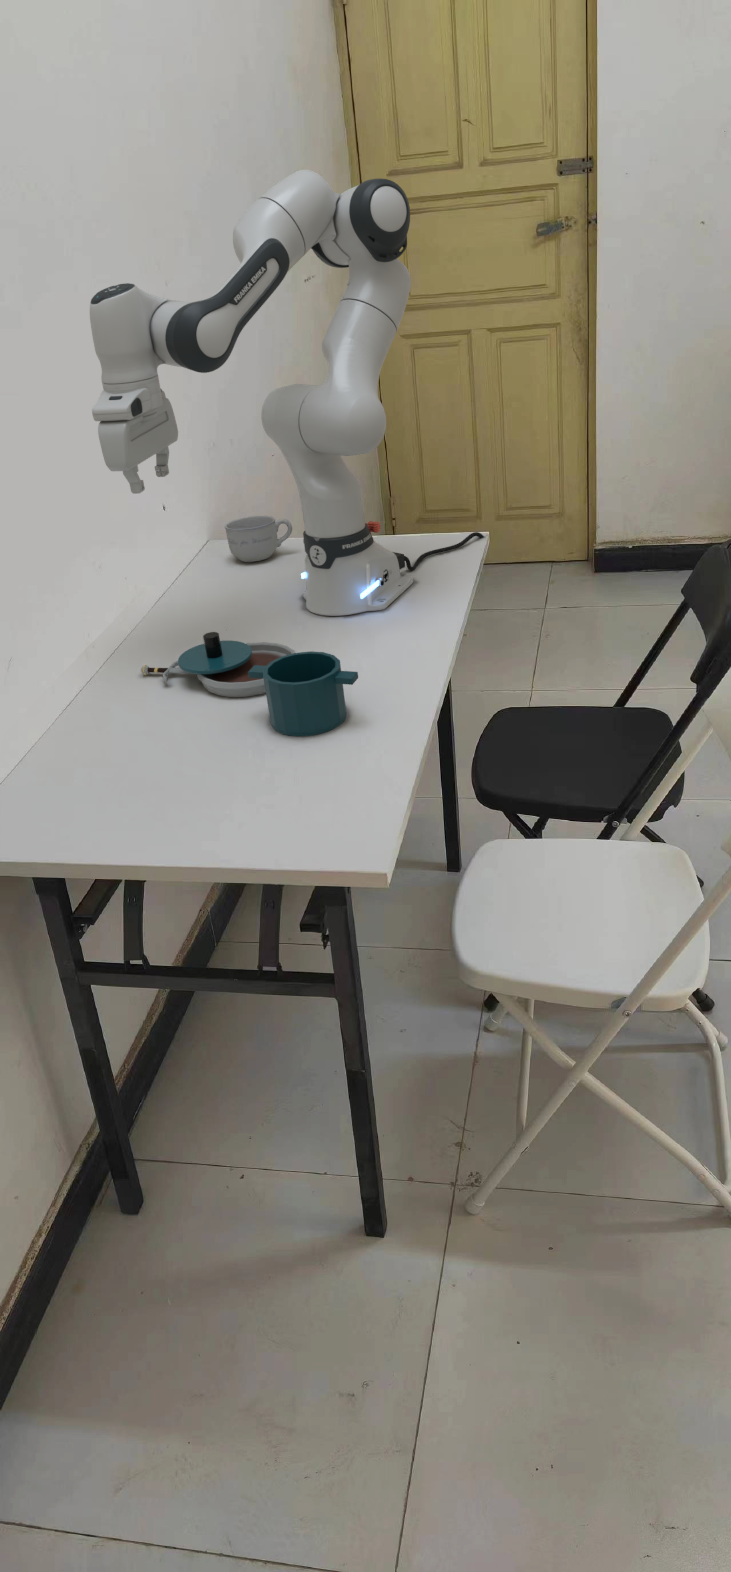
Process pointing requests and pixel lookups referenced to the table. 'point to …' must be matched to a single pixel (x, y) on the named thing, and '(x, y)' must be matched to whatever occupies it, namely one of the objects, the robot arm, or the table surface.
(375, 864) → the table surface
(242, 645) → the lid
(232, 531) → the teacup
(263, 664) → the frying pan
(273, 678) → the pot
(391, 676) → the table surface
